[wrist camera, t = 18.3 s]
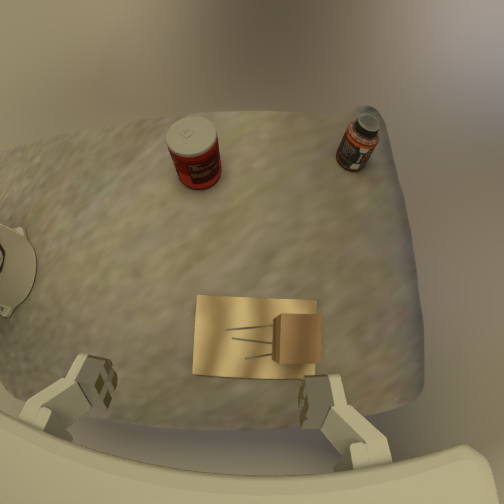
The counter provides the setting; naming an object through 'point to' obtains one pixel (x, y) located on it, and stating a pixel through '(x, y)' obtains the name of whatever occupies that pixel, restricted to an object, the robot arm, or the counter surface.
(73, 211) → the counter surface
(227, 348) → the board
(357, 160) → the supplement bottle
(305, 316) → the block
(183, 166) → the canned food
